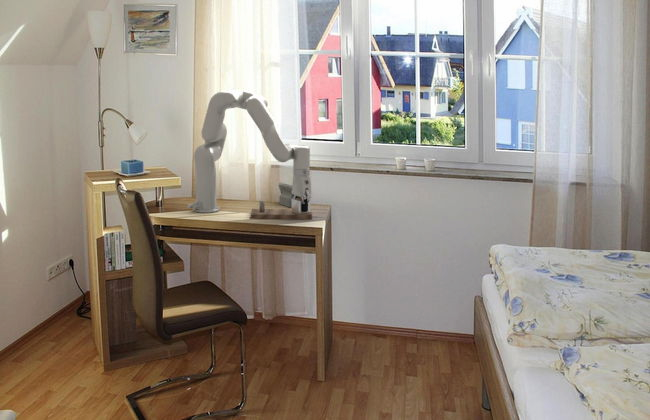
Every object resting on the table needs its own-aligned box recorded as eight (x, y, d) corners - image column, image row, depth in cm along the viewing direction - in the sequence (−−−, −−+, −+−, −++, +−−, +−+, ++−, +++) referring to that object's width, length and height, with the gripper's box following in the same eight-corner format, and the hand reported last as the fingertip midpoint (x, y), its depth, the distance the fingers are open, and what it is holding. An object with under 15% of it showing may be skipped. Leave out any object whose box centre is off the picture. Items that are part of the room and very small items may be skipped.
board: (250, 218, 342) (250, 197, 340) (251, 212, 354) (251, 192, 352) (311, 219, 344) (312, 197, 342) (311, 213, 356) (311, 192, 354)
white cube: (298, 213, 345) (298, 201, 344) (291, 211, 350) (291, 198, 349) (310, 212, 348) (310, 199, 347) (303, 209, 353) (303, 197, 352)
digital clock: (305, 207, 369) (306, 186, 366) (289, 209, 365) (289, 187, 362) (291, 201, 383) (291, 180, 380) (275, 202, 379) (275, 181, 376)
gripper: (318, 174, 340) (317, 213, 344) (298, 168, 354) (298, 205, 358) (304, 175, 336) (303, 214, 340) (284, 170, 350) (284, 207, 354)
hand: (300, 209), depth 349 cm, fingers closed on white cube, 6 cm apart
